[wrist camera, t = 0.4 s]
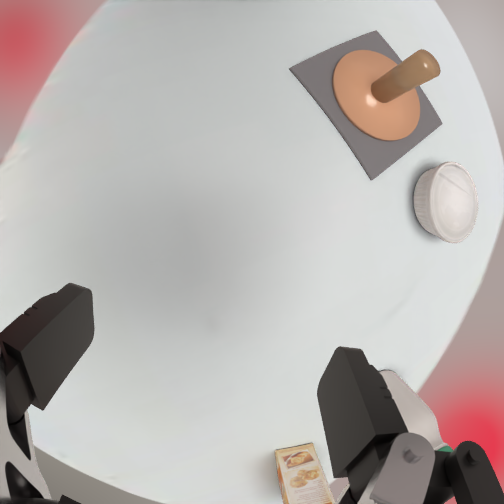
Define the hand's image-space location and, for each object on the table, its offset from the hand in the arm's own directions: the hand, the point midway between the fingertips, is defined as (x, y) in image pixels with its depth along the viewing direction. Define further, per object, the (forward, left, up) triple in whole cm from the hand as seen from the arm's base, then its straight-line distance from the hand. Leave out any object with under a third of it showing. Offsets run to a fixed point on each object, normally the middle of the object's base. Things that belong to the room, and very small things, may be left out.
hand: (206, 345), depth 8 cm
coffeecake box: (+41, +18, -26) cm, 51 cm away
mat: (-23, +18, -25) cm, 39 cm away
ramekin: (-10, +30, -26) cm, 41 cm away
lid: (-23, +18, -25) cm, 39 cm away
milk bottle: (+21, +28, -26) cm, 43 cm away
